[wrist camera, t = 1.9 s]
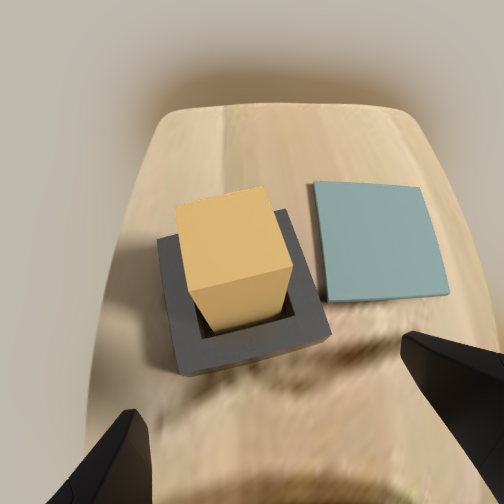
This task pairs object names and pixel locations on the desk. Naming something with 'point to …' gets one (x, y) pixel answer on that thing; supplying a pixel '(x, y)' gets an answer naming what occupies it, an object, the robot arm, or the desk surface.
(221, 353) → the square-hole plate
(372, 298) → the rubber mat
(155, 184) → the desk surface
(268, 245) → the ochre square block
